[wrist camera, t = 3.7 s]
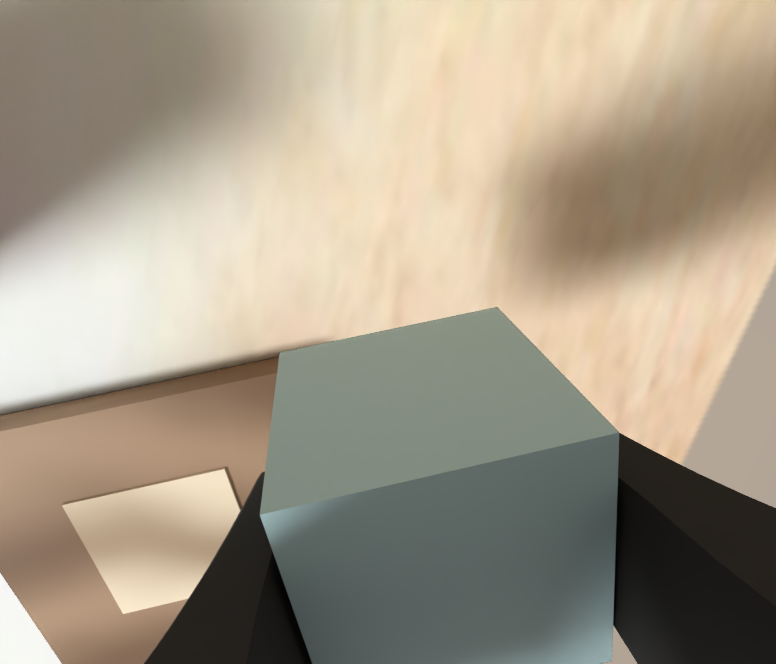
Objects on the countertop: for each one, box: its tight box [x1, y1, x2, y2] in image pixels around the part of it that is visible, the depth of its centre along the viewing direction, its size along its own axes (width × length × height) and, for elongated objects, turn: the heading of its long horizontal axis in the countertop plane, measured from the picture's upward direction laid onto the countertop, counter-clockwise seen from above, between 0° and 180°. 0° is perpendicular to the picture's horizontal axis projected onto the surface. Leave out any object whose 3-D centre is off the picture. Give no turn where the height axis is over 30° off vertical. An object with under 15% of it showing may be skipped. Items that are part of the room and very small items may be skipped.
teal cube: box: [260, 307, 619, 664], centre depth 9 cm, size 4×4×4 cm
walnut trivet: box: [0, 357, 279, 664], centre depth 19 cm, size 12×12×1 cm
